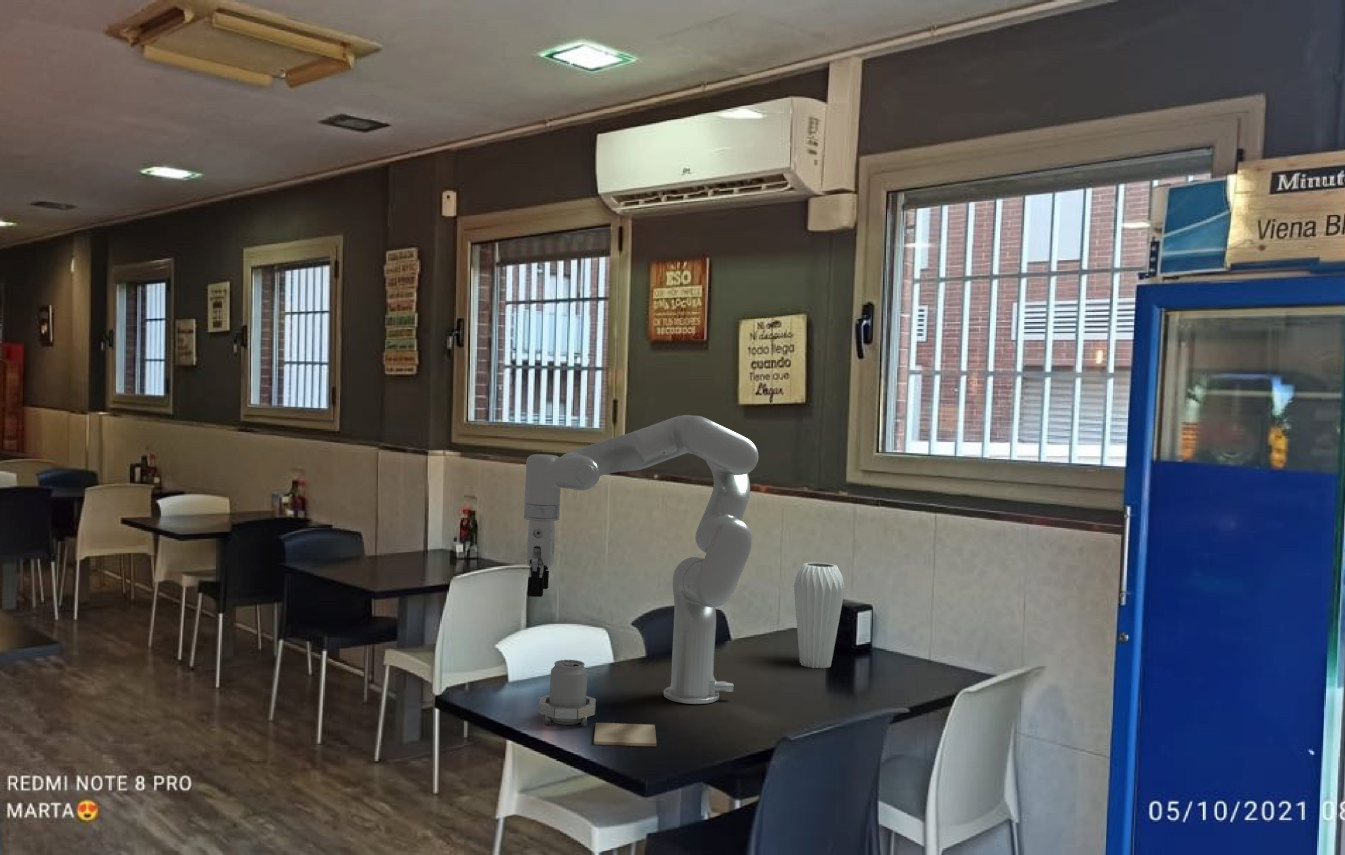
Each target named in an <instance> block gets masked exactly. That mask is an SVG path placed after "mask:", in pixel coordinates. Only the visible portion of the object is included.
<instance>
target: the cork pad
mask: <svg viewBox="0 0 1345 855" xmlns="http://www.w3.org/2000/svg"><path fill="white" fill-rule="evenodd" d="M656 734H657V733H656V725H655V724H643V723H640V724H639V723H615V722H595V728H594V736H593V737H594V738H593V745H598V746H599V745H602V746H603V745H604V746H627V747H628V746H630V747H631V746H632V747H657V736H656Z"/></svg>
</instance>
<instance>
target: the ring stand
mask: <svg viewBox="0 0 1345 855" xmlns="http://www.w3.org/2000/svg"><path fill="white" fill-rule="evenodd" d="M549 699H550V694H547V695H543V696H540V699H539V702H538V713H539V714H540V715H542V716H543V715H544V716H545V717H544V725H545V726H547V727H549V726H551V725H552V719H551V717H552V718H560V719H580V718H581V722H580V727H581V728H586V727H587V725H588V717H591V716H595V714H596V701H597V699H596V698H594V697H591V696H588V695H586V705H584V706H580V707H557V706H554V705H551V704H549Z"/></svg>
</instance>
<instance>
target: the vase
mask: <svg viewBox="0 0 1345 855" xmlns="http://www.w3.org/2000/svg"><path fill="white" fill-rule="evenodd" d="M793 589H794V592H793V594H794V606H795V616H796V631H797V643H798V644H797V645H798V655H799V656H798V657H799V664H800V663H801V664H800V665H801V666H803V667H807V668H812V669H827V668H831V666H832V661H833V656H834V651H835V644H836V641H837V634H838V628H839V623H840V617H841V613H842V607H843V600H844V595H845V584H844V577H843V574H842V572H841V571H840V569H839V567H838V565H836V564H832V563H829V562H828V563H826V562H804V563H803V564H802V566H801V567H800V568H799V570H798V572H797V574H796V577H795V580H794V584H793Z"/></svg>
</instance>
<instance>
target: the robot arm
mask: <svg viewBox="0 0 1345 855" xmlns="http://www.w3.org/2000/svg"><path fill="white" fill-rule="evenodd" d="M758 451H759V450H758V448H757V447H756V445H755V444H754V442H753V441H751V439H749V438H747V437H745V436H744V435H742V434H739V433H738V432H735V431H733V430H732V429H729V428H726V427H725V426H723V425H720V424H718V423H717V422H715V421H713V420H711V419H708V418H707V417H703V416H702V415H691V414H683V415H677V416H675V417H671V418H668V419H665V420H662V421H660V422H657V423H654V424H651V425H649V426H646V427H643V428H640V429H637V430H634V431H631V432H628V433H625V434H621V435H618V436H616V437H612V438H609V439H605V440H601V441H599V442H596V443H592V444H590V445H586V446H584V447H581V448H578V449H575V450H573V451H570V452H567V453H565V454H564V453H563V454H562V455H560V456H558V455H554V454H541V453H539V454H537V453H536V454H531V455H529V456H528V457H527V459H526V465H525V481H524V482H525V483H524V484H525V486H524V487H525V488H524V504H523V505H524V506H523V520H526V521H528V530H527V550H526V552H527V553H526V556H527V558H526V559H527V561H526V563H527V566H528V567H529V571H528V577H527V592H526V593H527V597H532V598H533V597H535V598H537V597H538V598H542V597H543V595H544V590H548V588H549V578H550V577H549V575H550V570H549V568H550V567H551V566H552V565H553V564H554V563H555V546H556V545H555V543H556V542H555V539H556V529H555V528H556V524H555V522H556V521H559V520H560V512H561V510H560V509H561V490H562V489H567V490H573V491H588V490H590V489H592V488H593V487H595V486H596V485H597V483H598V482H599V480H600V477H602V476H605V475H608V474H613V473H618V472H633V471H640V470H644V469H647V468H649V467H653V466H655V465H657V464H660V463H662V462H665V461H668V460H671V459H674V458H677V457H679V456H682V455H685V454H691V455H695V456H697V457H699V458H700V459H702V460H704V461H705V462H706V464H707V465H708V467H709V469H710V472H711V474H712V478H713V487H712V491H711V495H710V498H709V501H708V503H707V505H706V508H705V510H704V512H703V514H702V516H701V520H700V521H699V524H698V526H697V528H696V532H695V543H696V545H697V547H698V548H699V549H700V551H702V552H704V553H705V555H704V556H705V557H704V558H702V557H698V556H695V557H693V556H692V557H691V556H690V557H688V558H685V559H684V560H682V561H680V562H679V563H678V565H677V566H676V567H675V570H674V572H673V576H672V591H673V593H672V594H673V602H674V604H673V606H674V607H673V608H674V609H673V610H674V613H673V616H674V618H673V636H672V655H671V673H670V674H671V675H670V676H671V677H670V686H668V687H665V689H663V696H664V698H666V699H667V700H668V701H669V700H670V701H672V702H675V703H682V704H687V705H689V704H691V705H703V704H711V703H715V702H716V701H718V700H719V699H720V691H721V692H728V693H729V692H732V693H733V692H734V683H733V682H728V681H726V680H725V681H723V680H721V681H720V680H718V681H717V679H716V678H715V675H714V668H715V665H714V663H715V646H716V645H715V644H716V643H715V642H716V630H717V610H716V608H718V607H721V606H723V605H725V603H727V602H728V601H729V600H730V598H731V597H732V595H733V594H734V592H735V590H736V588H737V585H738V582H739V580H740V578H741V576H742V573H743V571H744V569H745V565H746V563H747V561H748V558H749V555H750V553H751V550H752V544H753V539H752V538H753V537H752V532H751V530H750V528H749V526H748V524H746V523H745V522H744V521H742V519H743V517H744V515H745V513H746V509H747V506H748V504H749V499H750V493H751V483H750V477H749V474H750V473H751V472H752V471H753V470H754V469H755V468H756V467H757V465H758V462H759V458H760V457H759V452H758Z"/></svg>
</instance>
